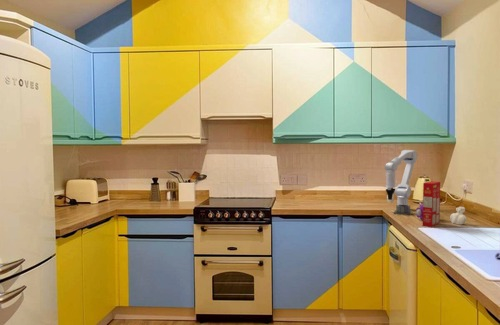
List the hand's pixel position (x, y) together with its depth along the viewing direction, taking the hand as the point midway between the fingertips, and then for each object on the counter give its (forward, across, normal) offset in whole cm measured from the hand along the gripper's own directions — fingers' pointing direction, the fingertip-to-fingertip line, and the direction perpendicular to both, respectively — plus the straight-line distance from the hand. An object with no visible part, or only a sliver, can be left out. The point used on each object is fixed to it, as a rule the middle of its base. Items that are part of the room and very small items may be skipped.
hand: (390, 199), depth 304 cm
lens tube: (+9, +2, +9) cm, 13 cm away
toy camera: (+9, +21, +25) cm, 34 cm away
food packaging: (+9, +37, +28) cm, 48 cm away
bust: (+9, +27, +43) cm, 52 cm away
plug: (+2, 0, 0) cm, 2 cm away
